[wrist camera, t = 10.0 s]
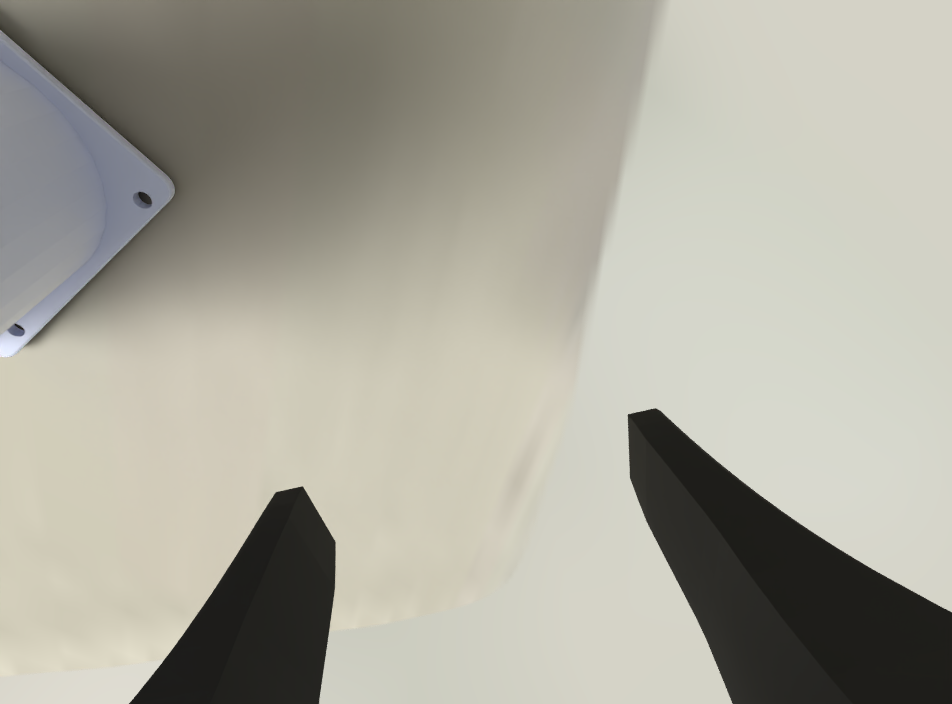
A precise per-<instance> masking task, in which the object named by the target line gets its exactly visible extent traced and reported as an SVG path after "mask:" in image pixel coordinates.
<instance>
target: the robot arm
mask: <svg viewBox="0 0 952 704" xmlns="http://www.w3.org/2000/svg"><path fill="white" fill-rule="evenodd" d="M138 192H144V193H146V194H148V195H149V197H150V198H151V200H152V204H146V203H144V202H142V200H141V199H140V198H139V195H138ZM174 194H175V187H174V184H173V182H172V180H171V179H170V178H169V177H168V176H167V175H166V174H165V173H164V172H163V171H161V170H160V169H159V168H158V167H157V166H156V165H155V164H153V163H152V162H151V161H150V160H149V159H148V158H147V157H145V156H144V155H143V154H142V153H141V152H140V151H139V150H137V149H136V148H135V147H134V146H133V145H132V144H131V143H129V142H128V141H127V140H126V139H125V138H124V137H122V136H121V135H120V134H119V133H118V132H117V131H116V130H114V129H113V128H112V127H111V126H110V125H109V124H108V123H106V122H105V121H104V120H103V119H102V118H101V117H100V116H98V115H97V114H96V113H95V112H94V111H93V110H92V109H90V108H89V107H88V106H87V105H86V104H85V103H83V102H82V101H81V100H80V99H79V98H78V97H77V96H75V95H74V94H73V93H72V92H71V91H70V90H69V89H67V88H66V87H65V86H64V85H63V84H62V83H61V82H59V81H58V80H57V79H56V78H55V77H54V76H53V75H51V74H50V73H49V72H48V71H47V70H46V69H44V68H43V67H42V66H41V65H40V64H39V63H38V62H36V61H35V60H34V59H33V58H32V57H31V56H30V55H28V54H27V53H26V52H25V51H24V50H23V49H22V48H20V47H19V46H18V45H17V44H16V43H15V42H14V41H12V40H11V39H10V38H9V37H8V36H7V35H5V34H4V33H3V32H2V31H1V30H0V356H1V357H12V356H14V355H15V354H17V353H18V352H19V351H20V350H21V349H22V348H23V347H24V346H25V345H26V344H27V343H28V342H29V341H30V340H31V339H32V338H33V337H34V336H35V335H36V334H37V333H38V332H39V331H40V330H41V329H42V328H43V327H44V326H45V325H46V324H47V323H48V322H49V321H50V320H51V319H52V318H53V317H54V316H55V315H56V314H57V313H58V312H59V311H60V310H61V309H62V308H63V307H64V306H65V305H66V304H67V303H68V302H69V301H70V300H71V299H72V298H73V297H74V296H75V295H76V294H77V293H78V292H79V291H80V290H81V289H82V288H83V287H84V286H85V285H86V284H87V283H88V282H89V281H90V280H91V279H92V278H93V277H94V276H95V275H96V274H97V273H98V272H99V271H100V270H101V269H102V268H103V267H104V266H105V265H106V264H107V263H108V262H109V261H110V260H111V259H112V258H113V257H114V256H115V255H116V254H117V253H118V252H119V251H120V250H121V249H122V248H123V247H124V246H125V245H126V244H127V243H128V242H129V241H130V240H131V239H132V238H133V237H134V236H135V235H136V234H137V233H138V232H139V231H140V230H141V229H142V228H143V227H144V226H145V225H146V224H147V223H148V222H149V221H150V220H151V219H152V218H153V217H154V216H155V215H156V214H157V213H158V212H159V211H160V210H161V209H162V208H163V207H164V206H165V205H166V204H167V203H168V202H169V201H170V200H171V199H172V198H173V196H174ZM14 323H15V324H18V325H20V326H21V327H22V328H23V329H24V330H21V329H19V328H18V327H16V326H15V324H14ZM628 431H629V459H630V460H629V461H630V479H631V481H632V484H633V487H634V490H635V492H636V495H637V498H638V500H639V503H640V506H641V508H642V511H643V513H644V516H645V518H646V521H647V523H648V525H649V527H650V529H651V531H652V532H653V535H654V537H655V539H656V541H657V542H658V545H659V546H660V548H661V550H662V552H663V554H664V556H665V558H666V560H667V562H668V564H669V566H670V568H671V570H672V572H673V574H674V575H675V578H676V580H677V581H678V583H679V585H680V587H681V589H682V591H683V593H684V595H685V597H686V599H687V601H688V603H689V605H690V607H691V608H692V610H693V612H694V614H695V616H696V618H697V620H698V622H699V625H700V627H701V629H702V631H703V633H704V635H705V637H706V639H707V642H708V644H709V647H710V649H711V652H712V654H713V657H714V659H715V661H716V664H717V666H718V669H719V671H720V674H721V676H722V678H723V681H724V683H725V686H726V688H727V691H728V693H729V696H730V698H731V701H732V703H733V704H952V612H950V611H948V610H946V609H944V608H942V607H940V606H938V605H936V604H934V603H933V602H931V601H929V600H927V599H926V598H924V597H922V596H920V595H918V594H916V593H914V592H913V591H911V590H909V589H907V588H905V587H903V586H902V585H900V584H898V583H896V582H894V581H892V580H891V579H889V578H887V577H885V576H884V575H882V574H880V573H878V572H876V571H874V570H873V569H871V568H869V567H868V566H866V565H864V564H863V563H861V562H859V561H858V560H856V559H854V558H852V557H851V556H849V555H848V554H846V553H844V552H843V551H841V550H839V549H838V548H836V547H835V546H833V545H832V544H830V543H828V542H827V541H825V540H824V539H822V538H821V537H819V536H817V535H816V534H814V533H813V532H811V531H810V530H808V529H807V528H805V527H804V526H802V525H801V524H799V523H798V522H796V521H795V520H793V519H792V518H791V517H789V516H788V515H786V514H785V513H784V512H782V511H781V510H779V509H778V508H777V507H775V506H774V505H773V504H771V503H770V502H768V501H767V500H766V499H764V498H763V497H762V496H760V495H759V494H757V493H756V492H755V491H754V490H752V489H751V488H750V487H748V486H747V485H746V484H744V483H743V482H742V481H741V480H739V479H738V478H737V477H736V476H735V475H733V474H732V473H731V472H730V471H728V470H727V469H726V468H724V467H723V466H722V465H721V464H720V463H718V462H717V461H716V460H715V459H714V458H712V457H711V456H710V455H709V454H708V453H706V452H705V451H704V450H703V449H702V448H701V447H700V446H698V445H697V444H696V443H695V442H694V441H693V440H691V439H690V438H689V437H688V436H687V435H686V434H685V433H683V431H681V430H680V429H679V428H678V427H677V426H676V425H675V424H674V423H673V422H672V421H671V420H669V419H668V418H667V417H666V416H665V415H664V414H663V413H662V412H661V411H659V410H658V409H650V410H646V411H641V412H637V413H632V414H628ZM335 544H336V542H335V540H334V539H333V537H332V535H331V534H330V532H329V530H328V528H327V527H326V525H325V523H324V522H323V520H322V518H321V517H320V515H319V513H318V511H317V510H316V508H315V506H314V505H313V503H312V501H311V500H310V498H309V496H308V494H307V493H306V491H305V489H304V488H303V486H302V487H298V488H293V489H289V490H284V491H280V492H276V493H275V494H274V496H273V498H272V499H271V501H270V502H269V504H268V505H267V507H266V508H265V510H264V512H263V513H262V515H261V517H260V518H259V520H258V521H257V523H256V525H255V526H254V528H253V529H252V531H251V533H250V534H249V536H248V538H247V539H246V541H245V542H244V544H243V546H242V547H241V549H240V550H239V552H238V554H237V555H236V557H235V558H234V560H233V561H232V563H231V565H230V566H229V568H228V569H227V571H226V572H225V574H224V575H223V577H222V579H221V580H220V582H219V583H218V585H217V586H216V588H215V589H214V591H213V592H212V594H211V595H210V597H209V598H208V600H207V601H206V603H205V604H204V606H203V607H202V608H201V610H200V611H199V613H198V614H197V616H196V617H195V618H194V620H193V621H192V623H191V624H190V626H189V627H188V628H187V630H186V631H185V633H184V634H183V636H182V637H181V638H180V640H179V641H178V642H177V644H176V645H175V647H174V648H173V649H172V651H171V652H170V653H169V655H168V656H167V657H166V658H165V660H164V661H163V662H162V664H161V665H160V666H159V668H158V669H157V670H156V671H155V673H154V674H153V675H152V676H151V678H150V679H149V680H148V681H147V683H146V684H145V685H144V686H143V688H142V689H141V690H140V691H139V693H138V694H137V695H136V696H135V697H134V699H133V700H132V701H131V702H130V703H129V704H319V697H320V690H321V684H322V677H323V669H324V662H325V656H326V649H327V642H328V635H329V628H330V621H331V613H332V606H333V598H334V590H335Z"/></svg>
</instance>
